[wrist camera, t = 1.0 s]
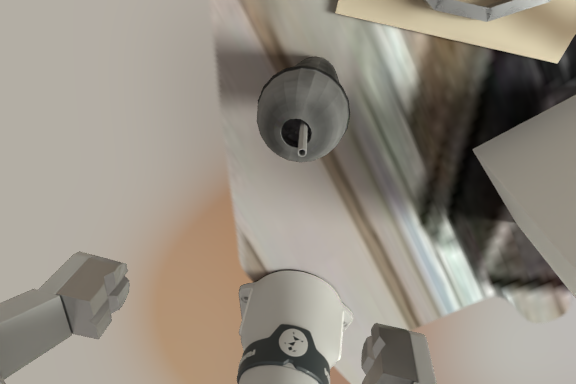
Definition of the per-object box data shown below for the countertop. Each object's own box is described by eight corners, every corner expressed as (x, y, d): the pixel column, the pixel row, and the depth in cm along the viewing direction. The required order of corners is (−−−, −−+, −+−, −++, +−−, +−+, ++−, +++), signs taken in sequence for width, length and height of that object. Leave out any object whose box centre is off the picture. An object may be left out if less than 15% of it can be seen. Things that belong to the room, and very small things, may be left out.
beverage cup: (267, 72, 36) (197, 149, 19) (322, 25, 33) (296, 70, 16) (308, 124, 39) (277, 233, 22) (363, 86, 35) (376, 179, 19)
